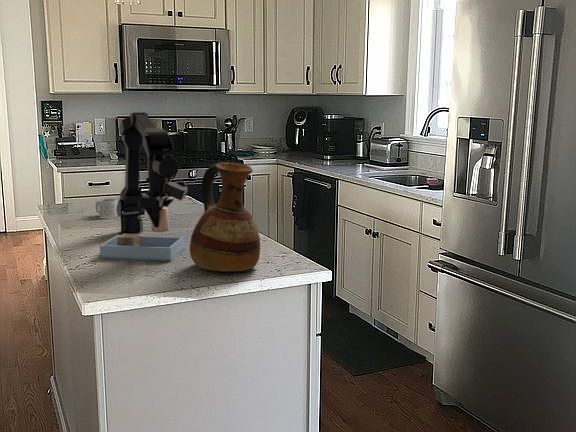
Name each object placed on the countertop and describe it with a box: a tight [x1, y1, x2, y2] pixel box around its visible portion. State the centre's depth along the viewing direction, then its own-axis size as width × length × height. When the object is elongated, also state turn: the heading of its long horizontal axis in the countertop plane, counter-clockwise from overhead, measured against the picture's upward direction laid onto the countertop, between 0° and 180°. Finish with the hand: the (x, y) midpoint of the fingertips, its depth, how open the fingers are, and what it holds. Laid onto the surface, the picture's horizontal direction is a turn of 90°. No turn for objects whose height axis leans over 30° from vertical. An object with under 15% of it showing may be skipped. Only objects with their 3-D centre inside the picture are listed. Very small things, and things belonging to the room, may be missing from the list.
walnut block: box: [117, 233, 140, 246], centre depth 193 cm, size 5×5×5 cm
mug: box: [95, 198, 118, 218], centre depth 247 cm, size 10×7×7 cm
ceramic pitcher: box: [189, 161, 261, 273], centre depth 176 cm, size 20×20×30 cm
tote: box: [99, 234, 185, 262], centre depth 193 cm, size 22×14×4 cm, turn 83°
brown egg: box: [150, 206, 170, 233], centre depth 190 cm, size 5×5×7 cm
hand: (159, 225), depth 191 cm, fingers closed on brown egg, 5 cm apart
